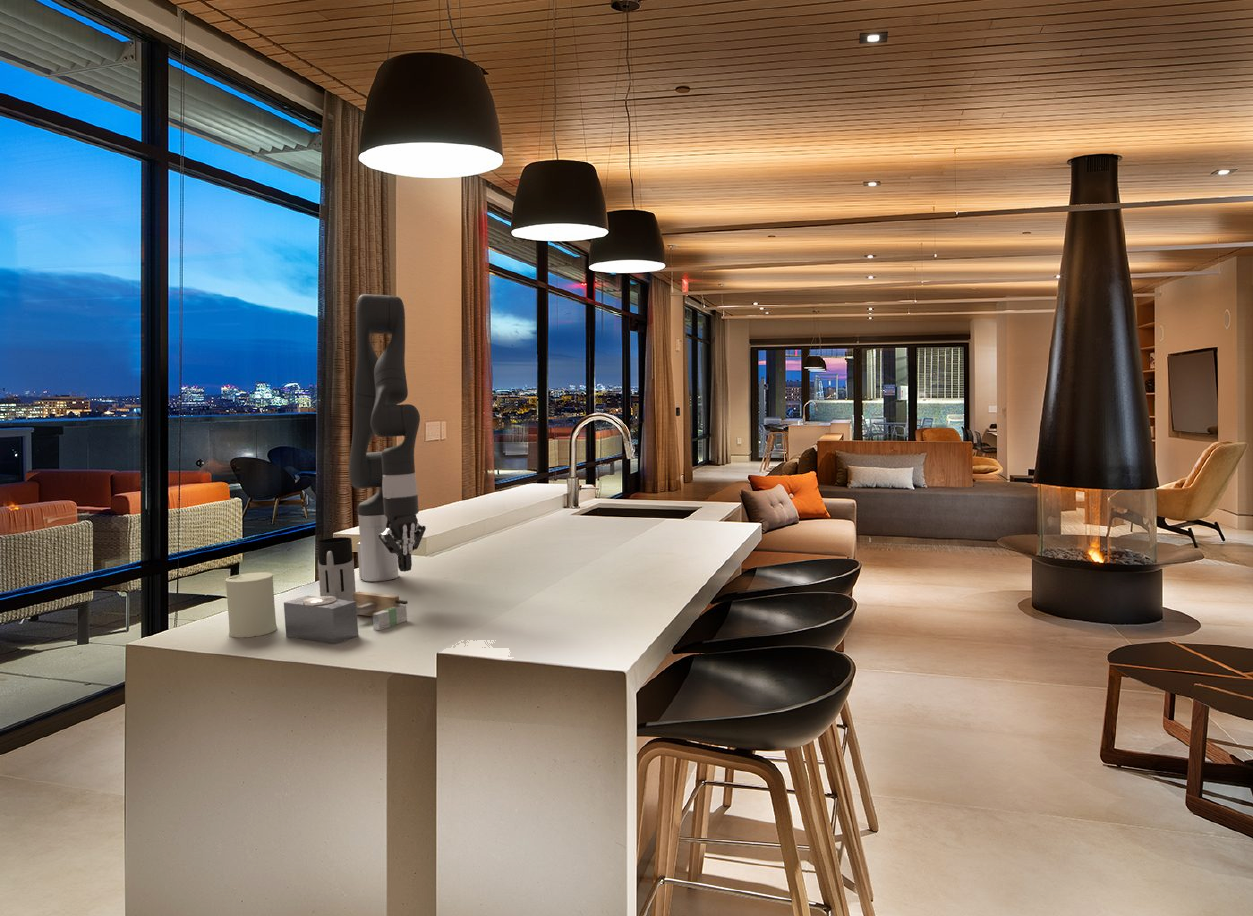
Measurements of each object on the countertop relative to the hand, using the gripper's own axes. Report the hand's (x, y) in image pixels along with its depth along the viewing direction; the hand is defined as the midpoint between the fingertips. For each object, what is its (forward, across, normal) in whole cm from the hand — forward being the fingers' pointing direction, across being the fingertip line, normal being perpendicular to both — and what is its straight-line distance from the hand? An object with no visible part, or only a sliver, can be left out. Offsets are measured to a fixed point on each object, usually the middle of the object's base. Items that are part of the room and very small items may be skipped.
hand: (405, 570), depth 193 cm
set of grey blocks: (+9, +18, 0) cm, 20 cm away
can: (+9, +27, -18) cm, 33 cm away
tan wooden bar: (+8, +11, +1) cm, 14 cm away
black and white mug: (+8, +5, -17) cm, 19 cm away
